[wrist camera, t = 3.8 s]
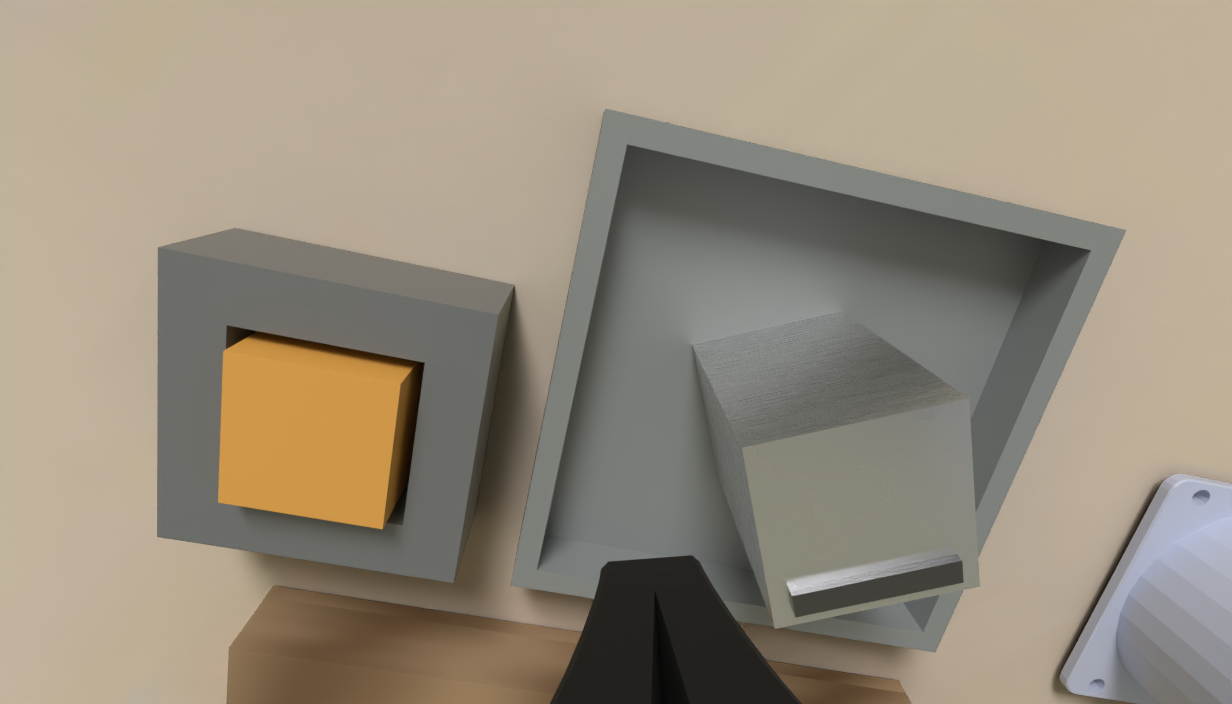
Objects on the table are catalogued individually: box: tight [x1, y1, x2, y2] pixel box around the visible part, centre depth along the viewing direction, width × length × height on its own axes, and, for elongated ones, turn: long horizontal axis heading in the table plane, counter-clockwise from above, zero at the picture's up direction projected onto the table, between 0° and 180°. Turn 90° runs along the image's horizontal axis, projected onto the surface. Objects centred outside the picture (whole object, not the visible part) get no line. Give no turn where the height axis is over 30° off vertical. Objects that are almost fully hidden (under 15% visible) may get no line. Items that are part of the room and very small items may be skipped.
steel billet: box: [692, 311, 980, 629], centre depth 15 cm, size 4×4×6 cm
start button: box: [218, 331, 425, 529], centre depth 15 cm, size 4×4×3 cm
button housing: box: [157, 228, 514, 583], centre depth 16 cm, size 7×7×3 cm
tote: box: [511, 109, 1126, 652], centre depth 17 cm, size 12×12×2 cm
